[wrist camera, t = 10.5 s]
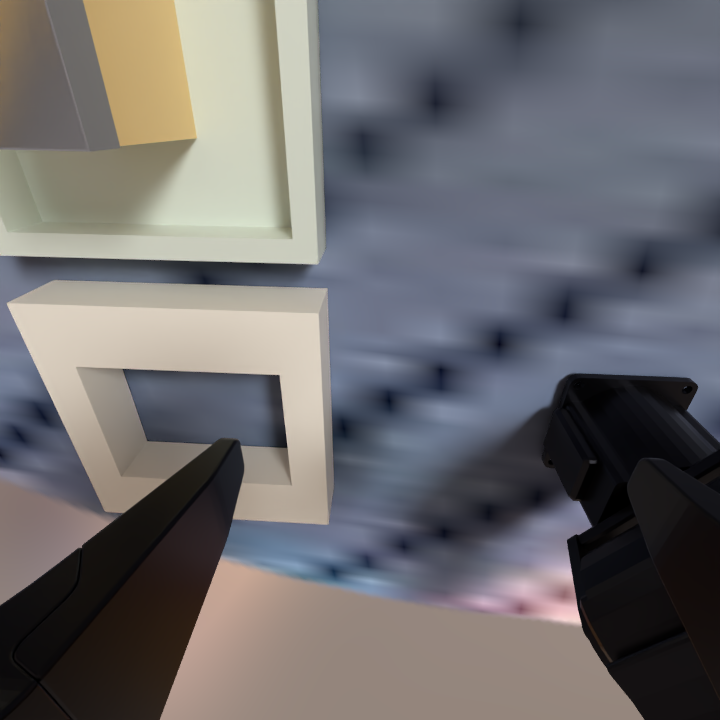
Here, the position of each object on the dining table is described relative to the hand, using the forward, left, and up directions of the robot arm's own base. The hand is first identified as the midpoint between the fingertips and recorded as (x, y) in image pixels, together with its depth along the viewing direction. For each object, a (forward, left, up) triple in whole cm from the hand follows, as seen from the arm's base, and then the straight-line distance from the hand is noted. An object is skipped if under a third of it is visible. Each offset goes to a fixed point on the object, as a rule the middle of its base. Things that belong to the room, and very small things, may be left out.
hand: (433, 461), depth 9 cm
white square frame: (+11, +8, -12) cm, 18 cm away
